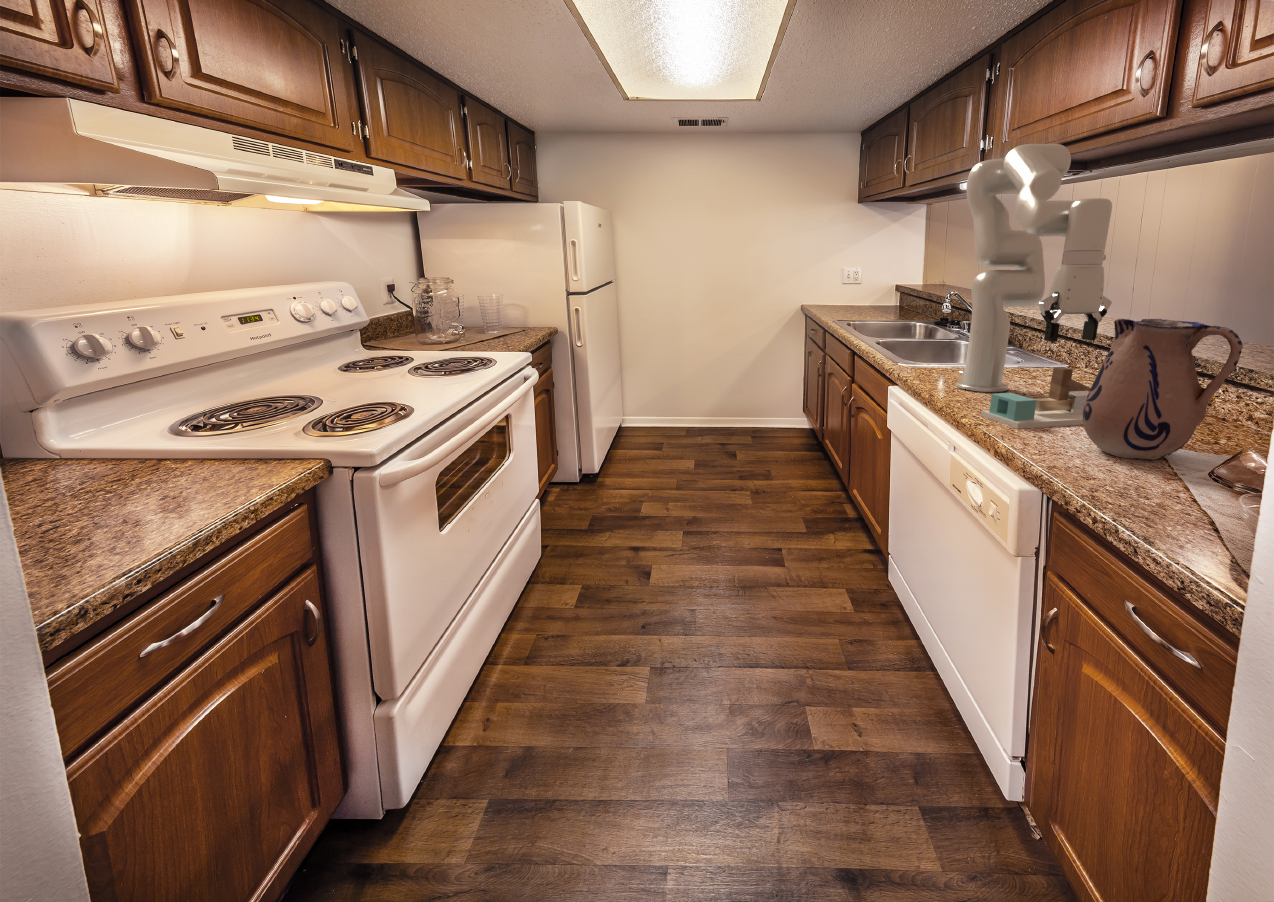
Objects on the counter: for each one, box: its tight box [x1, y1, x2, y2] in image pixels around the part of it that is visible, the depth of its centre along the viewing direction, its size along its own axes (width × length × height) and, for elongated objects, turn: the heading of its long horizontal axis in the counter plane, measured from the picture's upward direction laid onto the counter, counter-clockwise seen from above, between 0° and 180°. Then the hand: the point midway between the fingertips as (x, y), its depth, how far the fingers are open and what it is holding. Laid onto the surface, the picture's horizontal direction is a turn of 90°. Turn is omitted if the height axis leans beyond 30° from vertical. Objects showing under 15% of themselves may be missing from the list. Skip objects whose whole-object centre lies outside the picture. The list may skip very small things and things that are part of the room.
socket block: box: [989, 392, 1037, 421], centre depth 155 cm, size 5×8×4 cm, turn 11°
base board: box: [980, 409, 1084, 429], centre depth 157 cm, size 26×12×1 cm, turn 101°
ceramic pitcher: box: [1083, 318, 1244, 461], centre depth 127 cm, size 18×21×25 cm
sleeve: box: [1058, 391, 1089, 415], centre depth 158 cm, size 7×4×4 cm, turn 101°
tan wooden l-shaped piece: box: [1034, 366, 1074, 412], centre depth 156 cm, size 17×3×9 cm, turn 101°
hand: (1069, 340), depth 152 cm, fingers open, 9 cm apart
